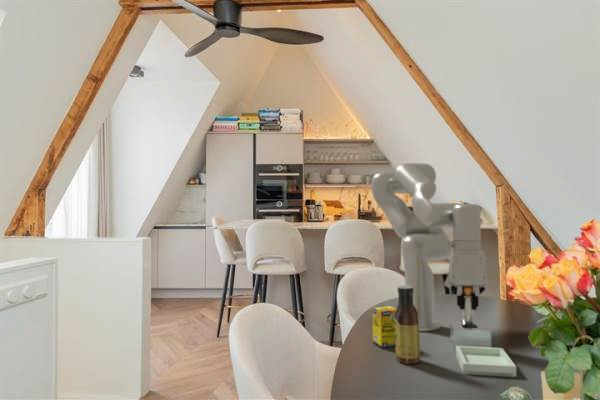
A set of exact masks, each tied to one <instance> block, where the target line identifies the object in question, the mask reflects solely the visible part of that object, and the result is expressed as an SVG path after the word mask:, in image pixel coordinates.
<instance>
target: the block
mask: <svg viewBox="0 0 600 400" xmlns="http://www.w3.org/2000/svg"><path fill="white" fill-rule="evenodd" d="M449 328H450V329H449V331H450V333H449V335H450V344H451V346H452V348H453V351H456V346H469V347H490V348H492V330H491V329H490V327H489V326H488V324H487V323H486V322H485V323H484V322H473V328H463V327H462V321H461V322H460V321H450V322H449Z"/></svg>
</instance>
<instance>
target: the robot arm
mask: <svg viewBox="0 0 600 400" xmlns="http://www.w3.org/2000/svg"><path fill="white" fill-rule="evenodd" d="M436 178H437V173H436V170H435V168H434V167H433V166H432V165H431V164H429V163H419V162H417V163H416V162H413V163H412V162H405V163H403V164H400V165H399V166H398V167H396V169H395V171H392V170H391V171H387V170H386V171H381V172H378V173H375V174H374V175H373V177H372V179H371V184H370V185H371V186H370V188H371V189H370V190H371V194H372V196H373V200H374V201H375V203H376V204H377V205H378V206H379V208H380V209H381V211H382V212H383V213H384V215H385V216H386V219H387V220H388V223H389V224H390V226H391V227H392V229H393V230H394V232H395V234H396V235H397V236H398V237H399V238H402V241H401V245H400V251H401V256H402V258H403V259H402V260H403V267H404V283H405V284H404V286H412V287H413V305H414V307H415V308H416V310H417V312H418V322H419V332H431V331H436V330H438V329H440V328H441V325H440V322H439V321H436V319H435V317H436V315H435V314H436V313H435V311H436V310H435V282H434V280H435V279H434V278H435V277H434V273H433V270H432V268H431V267H430V265H429V262H437V261H438V262H439V261H444V260H447V259H449V264H448V275H447V277H446V278H445V280H444V282H443V285H444V286H445V287H447V288H448V289H450V290H451V291H453V293H455V294H456V305H457V306H458V308H459V309H460V310H461V311H462V309H463V296H462V286H473V311H477V307H478V308H479V297H480V295H481V294H482V293H484V291H486V290H488V289H490V288H492V286H493V285H492V283H491V282H490V280H489V278H488V276H487V275H488V274H487V273H488V272H487V261H486V256H485V255H486V254H485V251H483V250H482V247H481V246H482V243H481V242H482V241H481V240H482V237H481V236H482V231H481V225H482V224H481V206H480V205H478V204H476V203H457V202H456V203H455V202H447V203H446V202H442V203H441V202H437V203H436V202H434V203H433V202H431V201H430V200H431V199H432V198H433V197H434V196H435V194H436V192H437V191H436V190H437V185H436V183H435V182H436ZM396 194H409V195H410V196H411V197H412V198H411V207H412V210H413V211H412V210H411V209H409V207H408V206H407V204H406V202H405V200H403V199H402V198H400V197H399V196H397V195H396ZM444 228H448V229H449V228H452V229H453V231H452V232H453V233H452V235H453V236H452V238H453V239H452V241H451V240H450V238H449V236H448V234H447V233H446V231H445V230H444Z"/></svg>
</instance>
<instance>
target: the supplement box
mask: <svg viewBox="0 0 600 400" xmlns="http://www.w3.org/2000/svg"><path fill="white" fill-rule="evenodd" d="M396 310H397V308H395V307H393V306H391V305H388V306H377V307H376V306H374V307H372V344H375V345H376V346H377V347H378V348H380V349H388V348H396V342H395V313H396Z"/></svg>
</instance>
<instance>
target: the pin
mask: <svg viewBox="0 0 600 400" xmlns="http://www.w3.org/2000/svg"><path fill="white" fill-rule="evenodd" d="M473 292H474V290H473V286H462V290H461V293H462V296H463V309H462V310H461V311H462V313H461V314H462V315H461V317H462V319H461V322H462V327H463V328H473V323H474V309H473Z"/></svg>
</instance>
